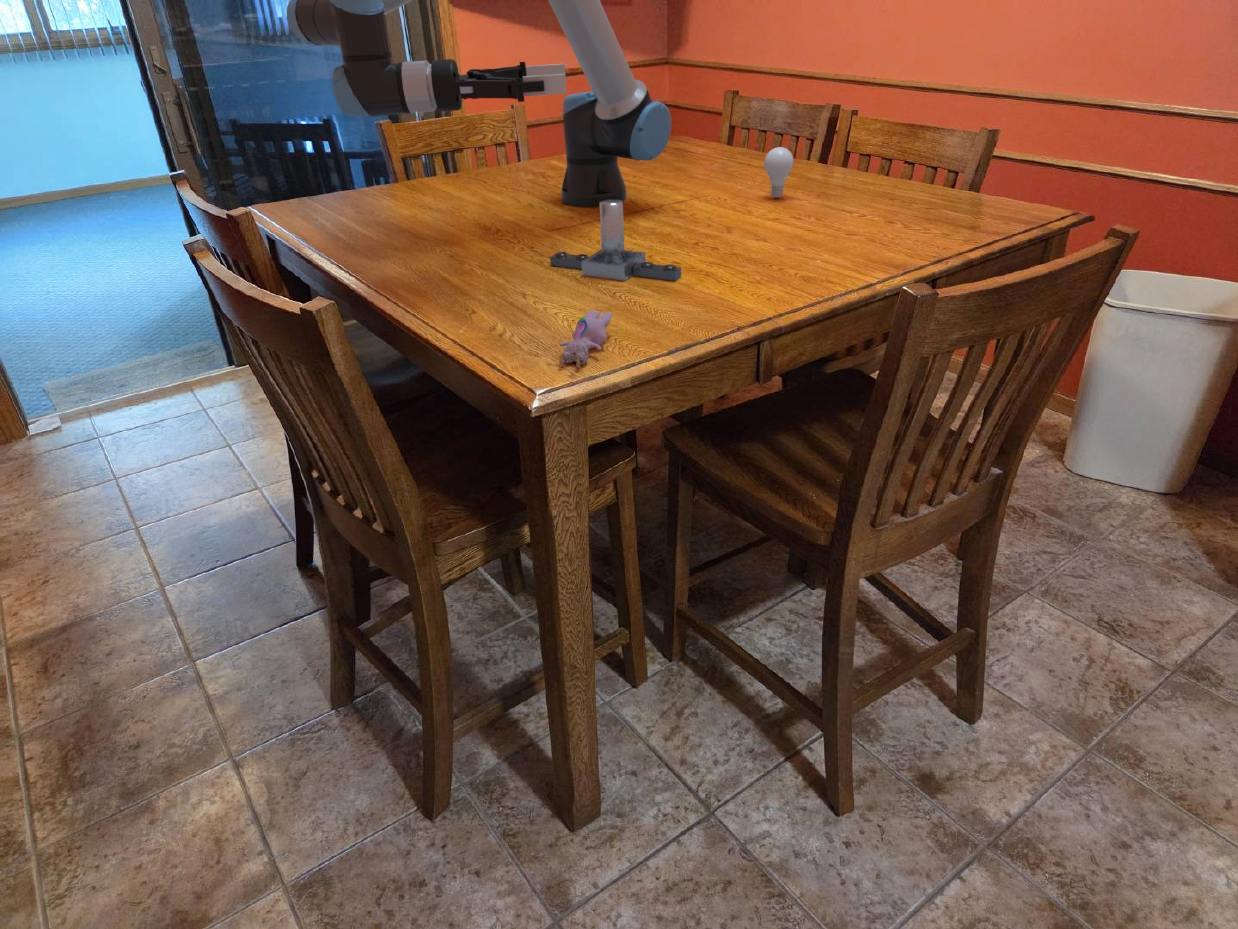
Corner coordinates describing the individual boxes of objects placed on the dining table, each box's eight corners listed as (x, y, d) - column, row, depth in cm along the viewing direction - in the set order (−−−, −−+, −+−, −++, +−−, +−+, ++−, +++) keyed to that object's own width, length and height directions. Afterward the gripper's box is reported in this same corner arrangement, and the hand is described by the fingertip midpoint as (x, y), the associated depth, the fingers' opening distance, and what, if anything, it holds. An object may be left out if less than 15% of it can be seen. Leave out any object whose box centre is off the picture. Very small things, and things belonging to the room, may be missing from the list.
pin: (598, 272, 144) (595, 204, 138) (609, 266, 147) (606, 198, 141) (618, 275, 143) (616, 206, 136) (628, 268, 146) (626, 200, 140)
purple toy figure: (592, 381, 110) (625, 323, 121) (587, 343, 106) (621, 287, 117) (550, 376, 112) (586, 320, 123) (543, 339, 108) (581, 284, 119)
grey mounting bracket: (542, 270, 147) (541, 256, 146) (565, 256, 153) (564, 243, 152) (668, 286, 137) (668, 272, 136) (687, 271, 143) (687, 257, 142)
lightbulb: (789, 194, 186) (793, 144, 180) (792, 201, 181) (795, 149, 175) (761, 195, 187) (764, 144, 181) (763, 202, 182) (766, 150, 176)
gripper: (446, 99, 143) (566, 92, 144) (427, 124, 122) (568, 115, 123) (439, 52, 139) (563, 44, 140) (418, 69, 118) (563, 60, 119)
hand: (565, 77), depth 131 cm, fingers open, 13 cm apart
